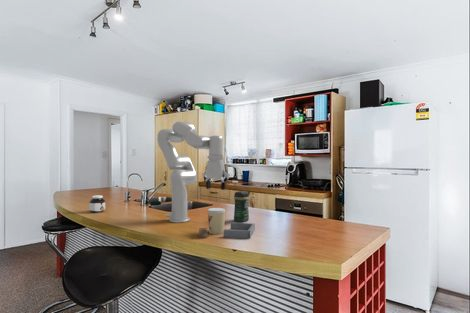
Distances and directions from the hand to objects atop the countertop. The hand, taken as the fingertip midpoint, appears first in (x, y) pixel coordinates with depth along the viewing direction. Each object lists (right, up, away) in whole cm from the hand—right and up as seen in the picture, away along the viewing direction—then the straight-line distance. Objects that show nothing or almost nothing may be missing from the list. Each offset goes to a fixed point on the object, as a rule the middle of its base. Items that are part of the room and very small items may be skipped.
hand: (215, 189), depth 152 cm
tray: (+13, -22, -9) cm, 27 cm away
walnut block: (-5, -22, -16) cm, 28 cm away
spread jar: (-90, -23, +50) cm, 105 cm away
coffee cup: (+1, -22, -7) cm, 23 cm away
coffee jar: (+15, -22, +20) cm, 33 cm away
